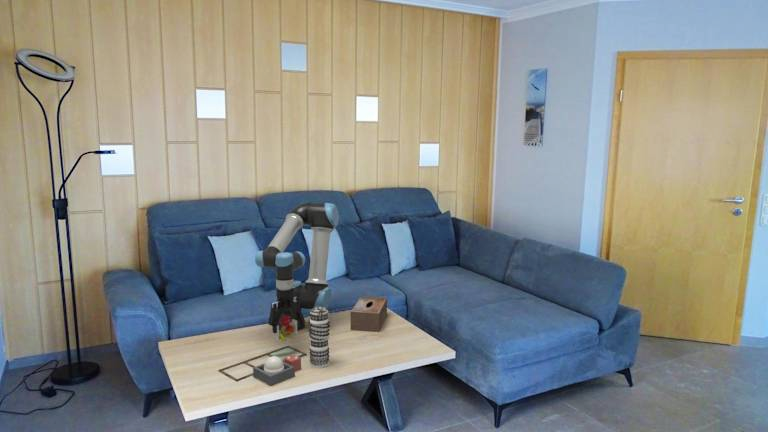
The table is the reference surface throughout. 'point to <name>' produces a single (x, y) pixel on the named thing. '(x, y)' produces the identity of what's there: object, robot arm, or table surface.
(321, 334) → the decorative candle
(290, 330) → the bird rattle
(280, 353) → the frame
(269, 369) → the dome
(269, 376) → the dome housing
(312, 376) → the table surface
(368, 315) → the tissue box cover
